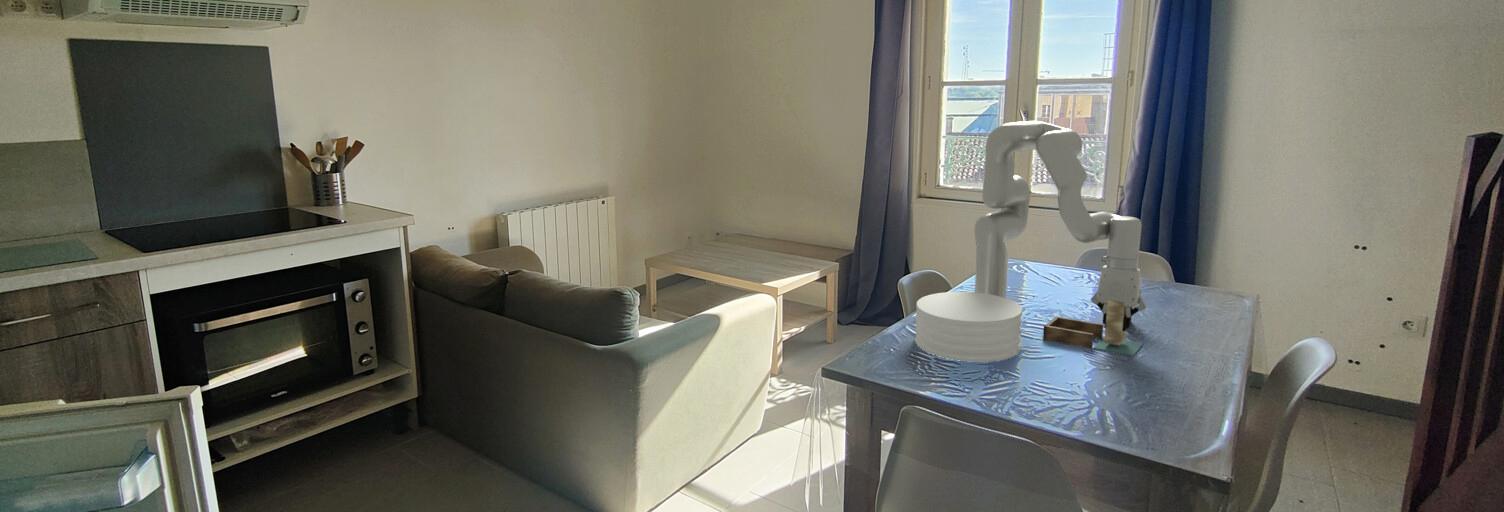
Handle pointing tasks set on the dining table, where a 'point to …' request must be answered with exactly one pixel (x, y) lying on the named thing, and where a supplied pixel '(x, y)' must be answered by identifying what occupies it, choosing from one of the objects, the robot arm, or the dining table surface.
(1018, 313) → the plate stack
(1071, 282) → the dining table surface
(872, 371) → the dining table surface
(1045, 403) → the dining table surface
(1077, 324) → the crate
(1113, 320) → the birch block
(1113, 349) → the mat
